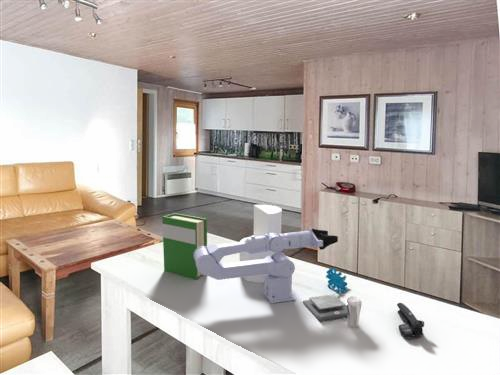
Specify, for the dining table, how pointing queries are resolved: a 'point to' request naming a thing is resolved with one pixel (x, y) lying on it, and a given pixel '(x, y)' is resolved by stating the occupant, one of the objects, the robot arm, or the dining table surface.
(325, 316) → the scale base
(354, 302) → the milkshake
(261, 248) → the robot arm
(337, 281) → the gear
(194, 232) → the hardback book
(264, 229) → the white tall piece
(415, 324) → the can opener
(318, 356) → the dining table surface
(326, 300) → the scale pan
